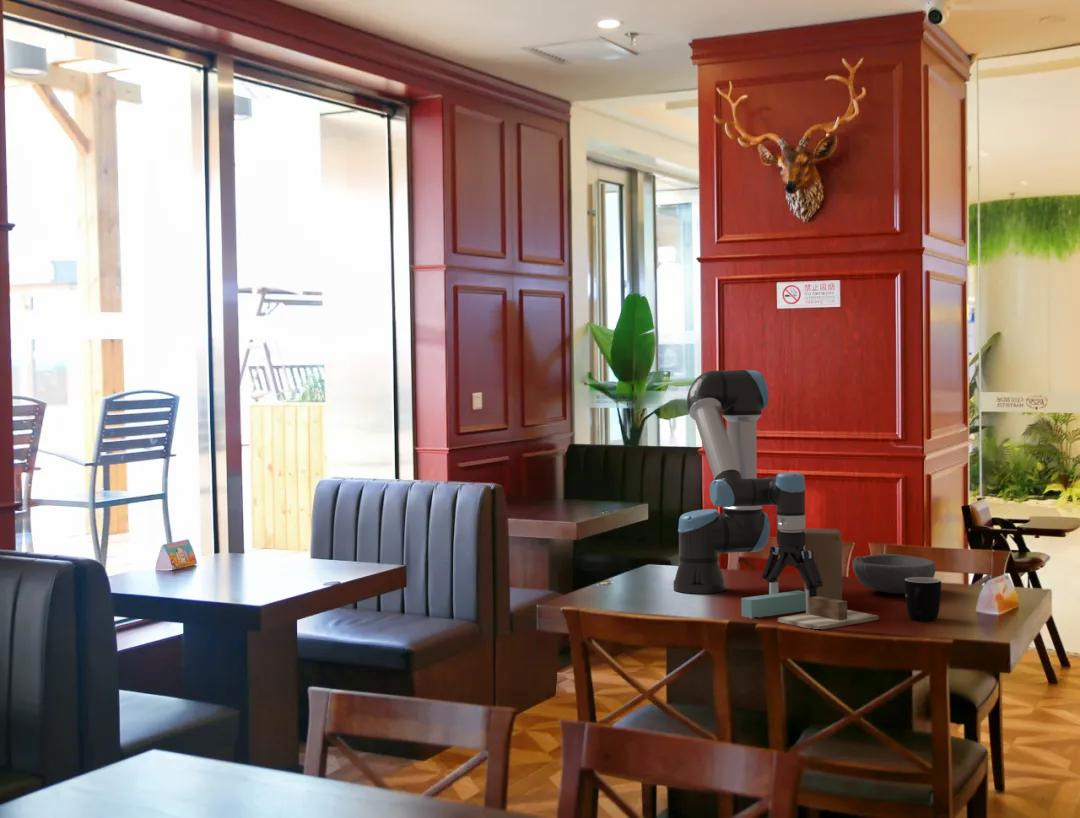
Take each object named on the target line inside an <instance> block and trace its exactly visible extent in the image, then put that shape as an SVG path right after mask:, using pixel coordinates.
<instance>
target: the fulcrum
mask: <svg viewBox="0 0 1080 818" xmlns="http://www.w3.org/2000/svg"><path fill="white" fill-rule="evenodd" d="M878 620H880V616H879V615H877V614H872V613H866V612H862V611H855V610H852V609H851V610H850V609H848V600H843V599H842V600H837V599H832V598H826V597H821V596H815V597H810V613H806V612H805V613H800V614H799V613H798V614H793V615H787V616H786V615H785V616H780V617H777V622H779V623H782V624H787V625H791V626H797V627H802V628H807V629H810V628H813V629H812V630H814V629H821V630H827V629H828V630H829V629H832V628H838V627H839V628H840V627H845V626H846V627H847V626H850V625H856V624H862V623H868V622H872V621H878Z"/></svg>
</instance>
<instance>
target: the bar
mask: <svg viewBox="0 0 1080 818" xmlns="http://www.w3.org/2000/svg"><path fill="white" fill-rule="evenodd" d="M740 598H741V599H740V600H741V601H740V603H741V604H740V605H741V617H744V618H748V617H749V619H756V618H755V617H758V618H765V617H771V616H777V615H786V614H793V613H799V612H806V592H805V590H804V591H802V590H792V591H784V592H779V593H776V594H769V593H768V594H763V595H754V596H747V597H740ZM764 616H765V617H764Z"/></svg>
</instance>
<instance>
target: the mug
mask: <svg viewBox="0 0 1080 818" xmlns="http://www.w3.org/2000/svg"><path fill="white" fill-rule="evenodd" d="M904 595H905V605H906V610H907V614H908V616H909V618H910V620H912V621H917V622H933V621H936V620H937V618H938V617H939V613H940V608H941V607H940V606H941V600H942V599H941V598H942V580H941V579H939V578H935V577H933V578H928V577H911V578H906V579H905V594H904Z"/></svg>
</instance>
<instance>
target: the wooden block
mask: <svg viewBox="0 0 1080 818" xmlns="http://www.w3.org/2000/svg"><path fill="white" fill-rule="evenodd" d="M803 531H804V532H805V540H806V543H805V545H804V547H803V548H804V551H813V555H814V561H815V564H816V566H817V569H818V572H819V575H820V578H821V580H822V583H823V586H822V587H819V588H817V596H821V597H826V598H832V599H837V600H842V601H843V568H842V567H843V562H842V561H843V559H842V558H843V553H842V552H843V551H842V549H843V547H842V545H843V544H842V539H843V538H842V533H841V530H839V529H838V528H805V530H803ZM803 582H804V581H803ZM803 584H804V586H803V587H804V592H806V588H807V585H806V583H805V582H804V583H803Z"/></svg>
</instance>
